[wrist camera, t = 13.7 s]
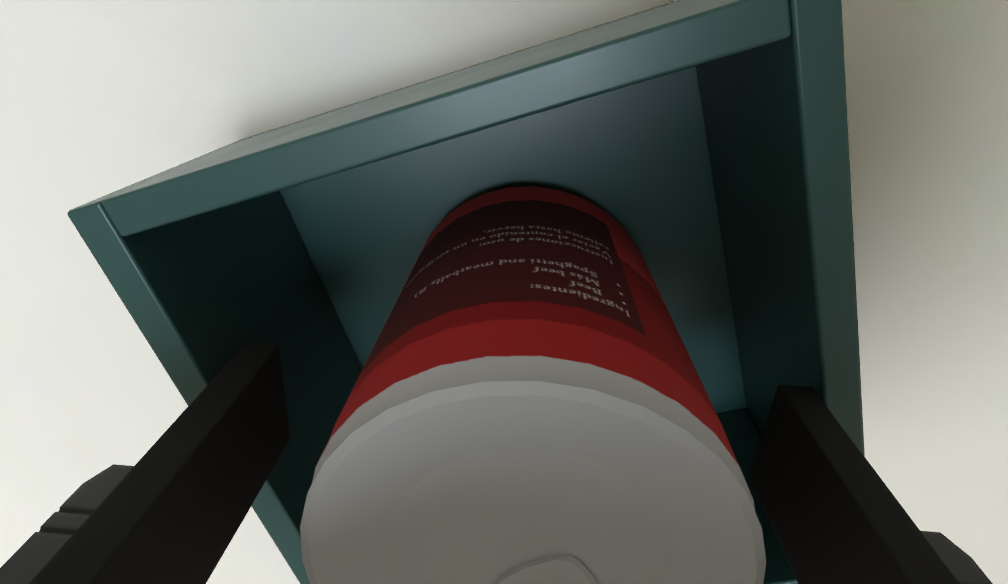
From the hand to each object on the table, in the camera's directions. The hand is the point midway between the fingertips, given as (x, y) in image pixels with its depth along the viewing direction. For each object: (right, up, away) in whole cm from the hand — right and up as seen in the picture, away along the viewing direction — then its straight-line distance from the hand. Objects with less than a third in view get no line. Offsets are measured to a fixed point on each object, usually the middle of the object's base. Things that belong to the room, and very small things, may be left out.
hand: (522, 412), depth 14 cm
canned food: (+1, +3, +6) cm, 7 cm away
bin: (0, +3, +6) cm, 7 cm away
